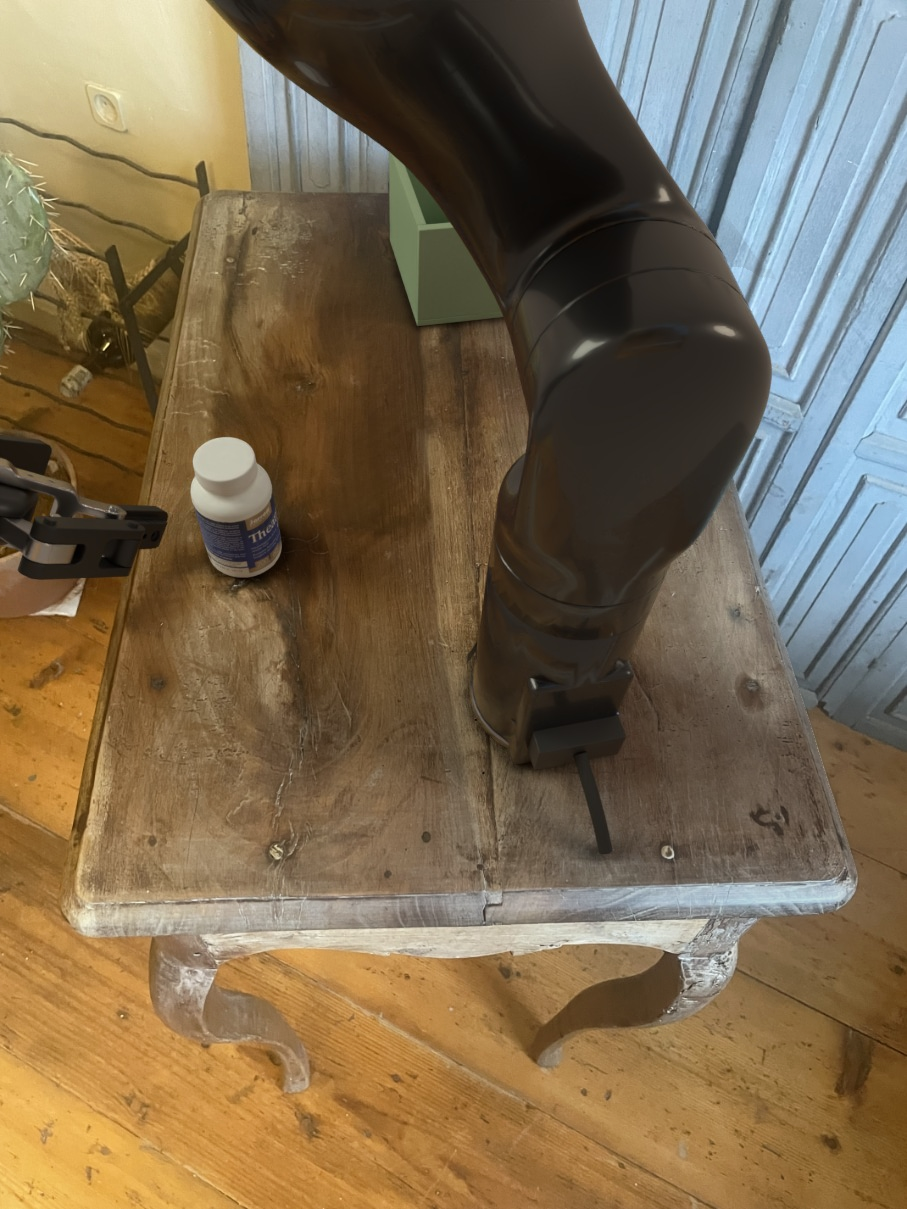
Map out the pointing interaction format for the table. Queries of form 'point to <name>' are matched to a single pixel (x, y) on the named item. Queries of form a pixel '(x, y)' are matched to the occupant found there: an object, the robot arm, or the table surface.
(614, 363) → the robot arm
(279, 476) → the table surface
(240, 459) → the pill bottle
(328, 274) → the table surface
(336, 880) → the table surface
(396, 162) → the bin
